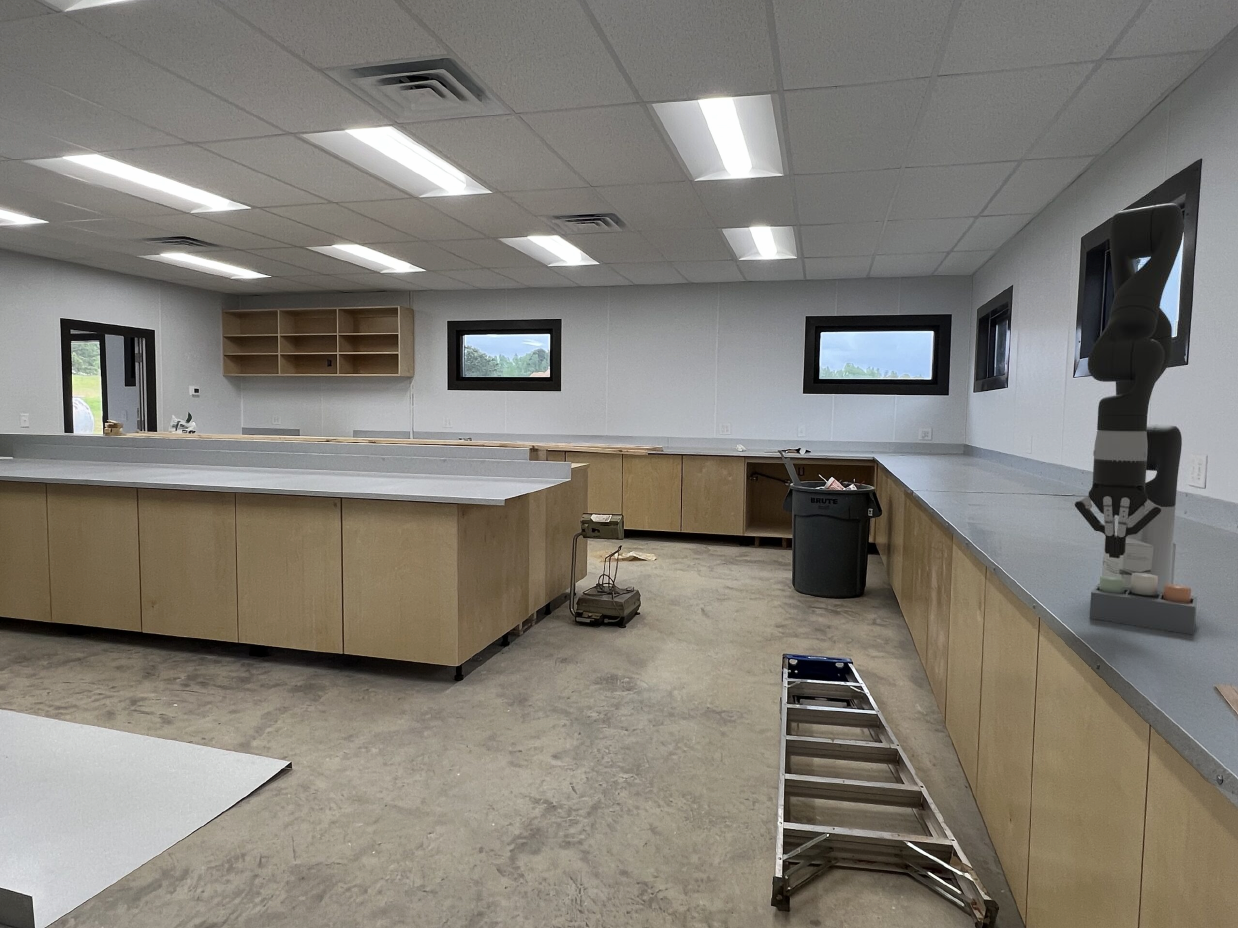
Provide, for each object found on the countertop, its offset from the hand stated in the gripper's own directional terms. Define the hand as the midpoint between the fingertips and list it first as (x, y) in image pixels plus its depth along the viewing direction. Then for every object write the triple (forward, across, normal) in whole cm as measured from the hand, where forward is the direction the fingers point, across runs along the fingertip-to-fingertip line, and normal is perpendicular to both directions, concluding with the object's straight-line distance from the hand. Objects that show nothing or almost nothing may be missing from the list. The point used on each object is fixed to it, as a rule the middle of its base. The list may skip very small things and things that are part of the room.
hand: (1114, 557), depth 127 cm
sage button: (+7, 0, 0) cm, 7 cm away
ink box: (+11, -1, -13) cm, 17 cm away
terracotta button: (+7, -9, 0) cm, 11 cm away
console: (+10, -4, 0) cm, 11 cm away
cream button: (+5, -4, 0) cm, 7 cm away
